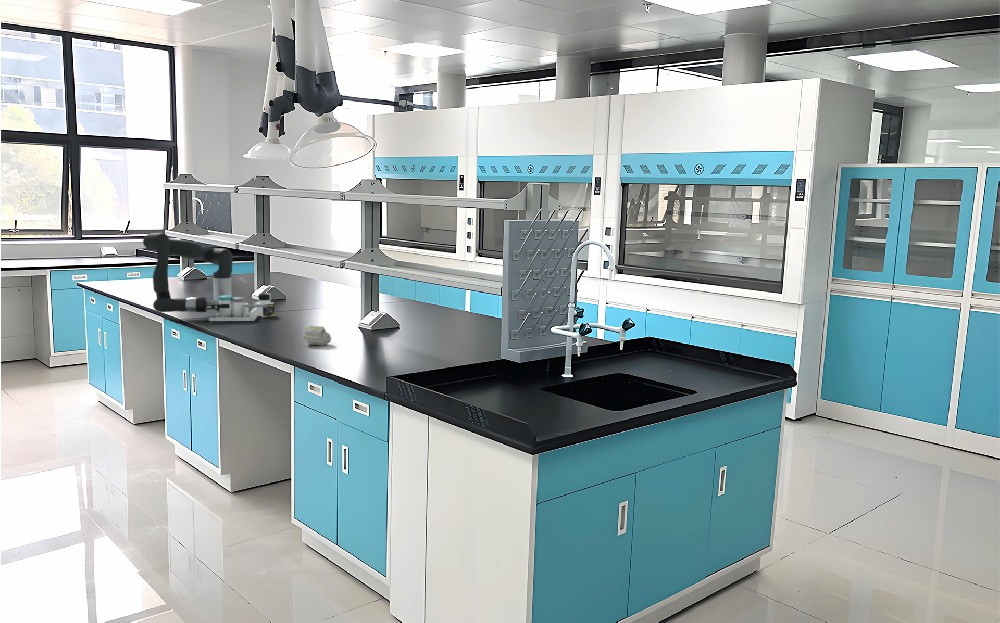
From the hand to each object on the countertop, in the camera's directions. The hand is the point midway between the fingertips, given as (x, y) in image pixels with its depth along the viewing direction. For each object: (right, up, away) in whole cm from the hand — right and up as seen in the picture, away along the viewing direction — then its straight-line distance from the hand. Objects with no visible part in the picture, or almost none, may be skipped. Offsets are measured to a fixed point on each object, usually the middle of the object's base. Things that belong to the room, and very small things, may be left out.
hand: (230, 304), depth 389 cm
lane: (+1, -7, +2) cm, 8 cm away
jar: (-3, -6, +1) cm, 7 cm away
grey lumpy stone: (+57, -18, -53) cm, 80 cm away
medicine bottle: (+13, -6, +14) cm, 20 cm away
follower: (+12, -7, +3) cm, 14 cm away
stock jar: (+3, -7, +2) cm, 8 cm away
